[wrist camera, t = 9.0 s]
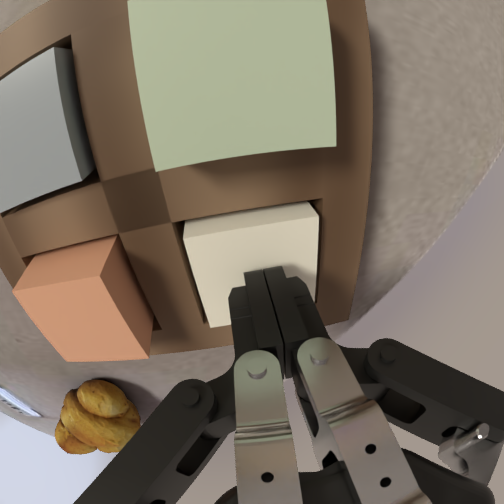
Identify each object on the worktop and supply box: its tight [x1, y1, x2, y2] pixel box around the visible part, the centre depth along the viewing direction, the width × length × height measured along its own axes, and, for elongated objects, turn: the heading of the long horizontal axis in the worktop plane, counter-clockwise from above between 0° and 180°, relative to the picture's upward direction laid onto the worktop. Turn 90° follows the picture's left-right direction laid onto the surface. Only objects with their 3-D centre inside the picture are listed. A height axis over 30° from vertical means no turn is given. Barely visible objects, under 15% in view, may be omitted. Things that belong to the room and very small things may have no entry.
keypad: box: [0, 0, 373, 355], centre depth 11 cm, size 18×18×4 cm
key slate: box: [0, 47, 96, 213], centre depth 7 cm, size 5×5×3 cm
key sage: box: [127, 0, 336, 172], centre depth 7 cm, size 5×5×3 cm
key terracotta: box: [12, 234, 154, 362], centre depth 11 cm, size 5×5×3 cm
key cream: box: [183, 200, 319, 328], centre depth 12 cm, size 5×5×3 cm
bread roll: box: [55, 380, 141, 454], centre depth 21 cm, size 13×10×8 cm
